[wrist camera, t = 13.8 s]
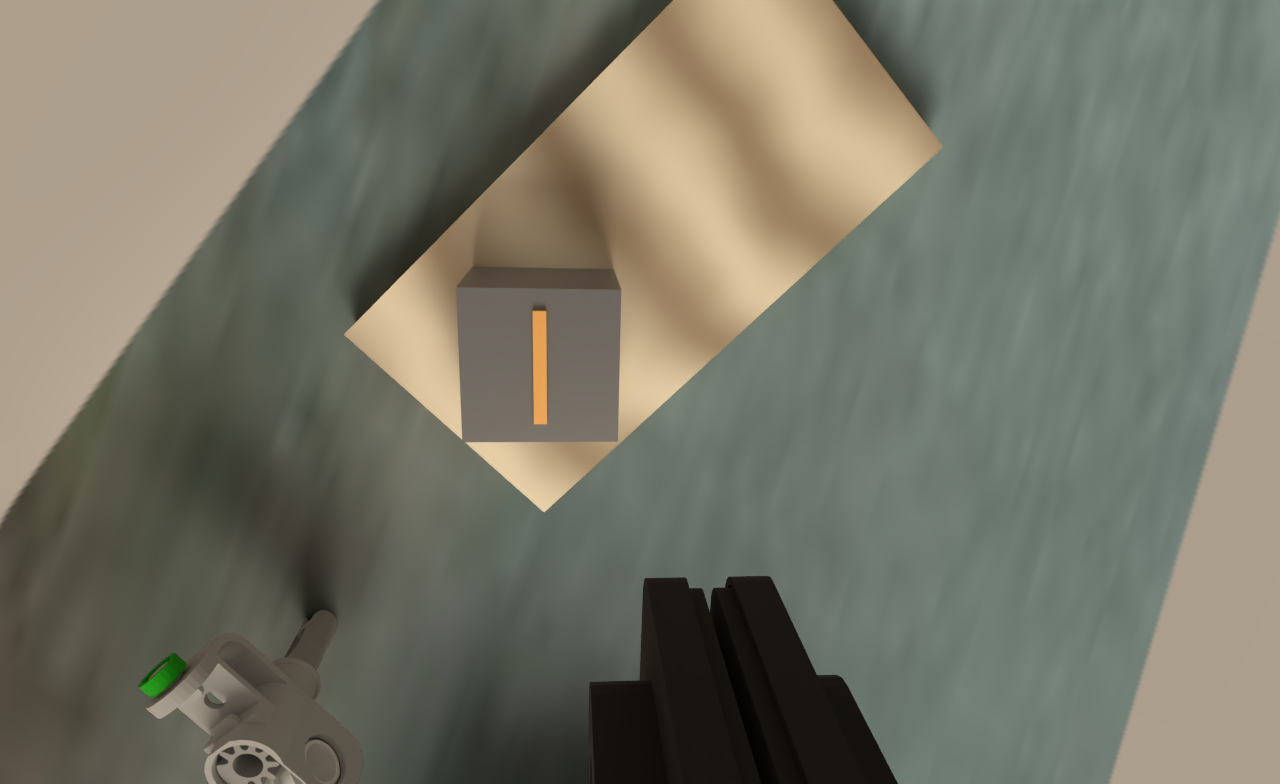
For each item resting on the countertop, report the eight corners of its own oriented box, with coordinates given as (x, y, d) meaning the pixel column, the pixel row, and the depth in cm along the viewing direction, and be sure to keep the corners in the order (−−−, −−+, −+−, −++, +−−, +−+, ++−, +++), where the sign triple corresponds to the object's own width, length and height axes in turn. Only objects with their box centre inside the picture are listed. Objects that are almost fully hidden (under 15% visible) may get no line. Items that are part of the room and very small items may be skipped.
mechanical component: (270, 536, 38) (172, 665, 29) (412, 672, 41) (365, 830, 32) (225, 570, 39) (113, 708, 29) (369, 703, 42) (309, 868, 32)
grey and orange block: (471, 266, 33) (455, 288, 28) (613, 269, 34) (621, 290, 29) (476, 401, 35) (461, 444, 30) (611, 401, 36) (618, 443, 31)
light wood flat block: (751, -78, 32) (787, -121, 27) (922, 146, 35) (984, 147, 30) (356, 324, 36) (319, 355, 30) (545, 494, 39) (541, 548, 34)
